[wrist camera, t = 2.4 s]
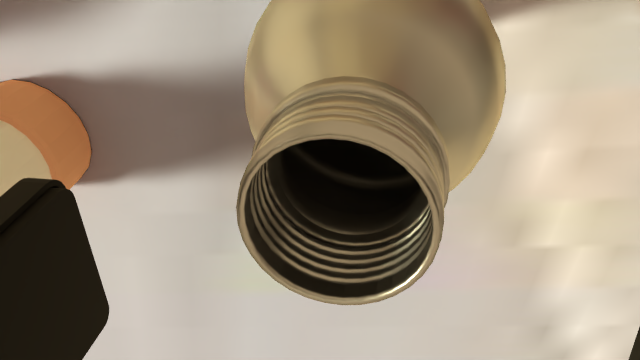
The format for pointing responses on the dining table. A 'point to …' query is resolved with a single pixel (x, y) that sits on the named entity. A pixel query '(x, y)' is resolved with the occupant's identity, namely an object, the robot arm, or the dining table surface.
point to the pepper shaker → (39, 136)
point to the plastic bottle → (362, 138)
